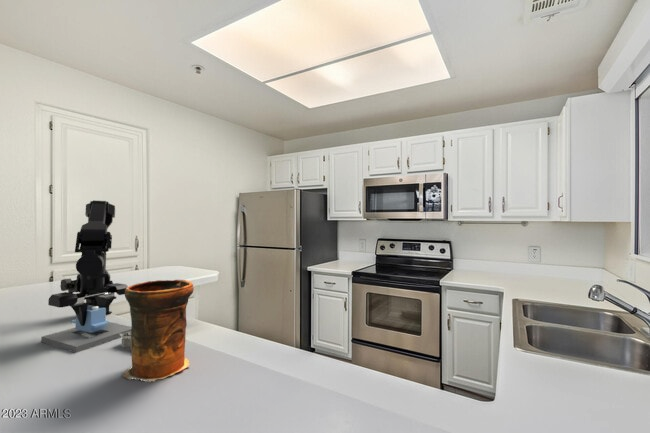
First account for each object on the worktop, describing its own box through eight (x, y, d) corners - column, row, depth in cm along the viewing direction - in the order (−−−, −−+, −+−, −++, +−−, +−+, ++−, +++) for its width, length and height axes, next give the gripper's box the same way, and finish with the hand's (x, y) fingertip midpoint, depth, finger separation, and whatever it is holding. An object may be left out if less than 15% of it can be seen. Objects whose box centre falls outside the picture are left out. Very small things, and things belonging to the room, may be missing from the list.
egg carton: (167, 344, 87) (168, 329, 88) (143, 354, 81) (143, 338, 81) (141, 337, 92) (142, 323, 92) (116, 346, 85) (117, 331, 85)
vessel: (155, 390, 63) (157, 292, 64) (107, 378, 68) (109, 287, 69) (205, 361, 77) (206, 281, 77) (162, 353, 82) (163, 277, 82)
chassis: (101, 324, 101) (101, 320, 101) (134, 332, 95) (135, 327, 95) (41, 342, 86) (41, 336, 86) (76, 352, 80) (76, 346, 80)
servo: (86, 323, 94) (86, 302, 94) (109, 329, 90) (110, 306, 90) (71, 327, 91) (72, 305, 91) (95, 334, 86) (95, 310, 86)
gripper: (107, 264, 102) (105, 311, 102) (37, 272, 85) (35, 329, 85) (130, 267, 98) (128, 316, 98) (61, 276, 81) (59, 335, 80)
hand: (90, 323), depth 90 cm, fingers closed on servo, 4 cm apart
